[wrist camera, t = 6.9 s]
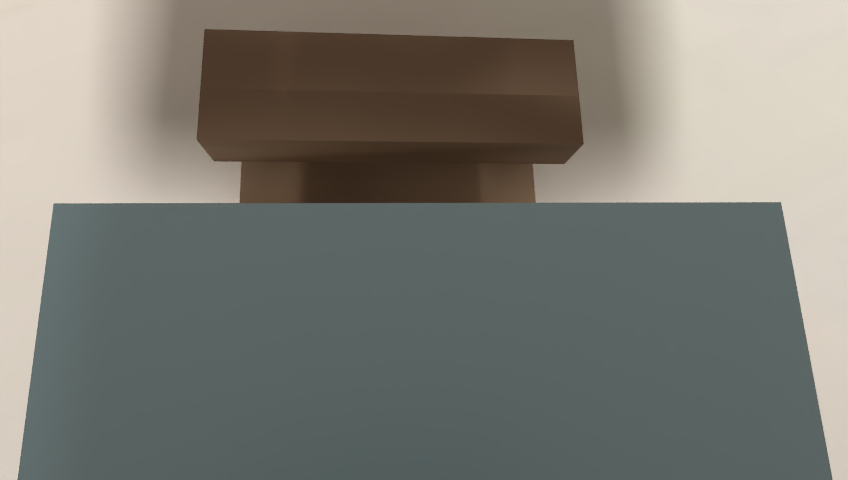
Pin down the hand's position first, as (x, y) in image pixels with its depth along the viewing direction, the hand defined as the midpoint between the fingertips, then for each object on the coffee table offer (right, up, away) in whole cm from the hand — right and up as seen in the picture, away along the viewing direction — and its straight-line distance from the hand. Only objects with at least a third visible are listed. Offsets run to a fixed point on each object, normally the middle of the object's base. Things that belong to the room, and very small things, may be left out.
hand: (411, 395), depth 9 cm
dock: (-1, 0, +10) cm, 10 cm away
